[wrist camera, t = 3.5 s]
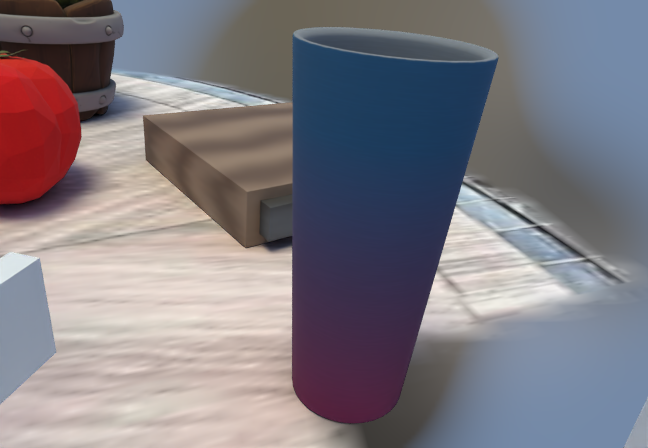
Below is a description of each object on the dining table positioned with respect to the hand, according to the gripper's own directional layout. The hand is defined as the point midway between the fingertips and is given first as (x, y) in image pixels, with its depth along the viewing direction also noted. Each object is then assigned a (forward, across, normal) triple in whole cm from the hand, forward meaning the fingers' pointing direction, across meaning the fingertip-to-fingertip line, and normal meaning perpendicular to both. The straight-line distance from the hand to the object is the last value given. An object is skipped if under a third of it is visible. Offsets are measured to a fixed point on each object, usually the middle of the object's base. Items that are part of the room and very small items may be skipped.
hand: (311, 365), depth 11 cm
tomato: (+22, -28, -9) cm, 37 cm away
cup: (+10, 0, -10) cm, 14 cm away
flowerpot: (+41, -38, -9) cm, 57 cm away
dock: (+32, -10, -9) cm, 35 cm away
